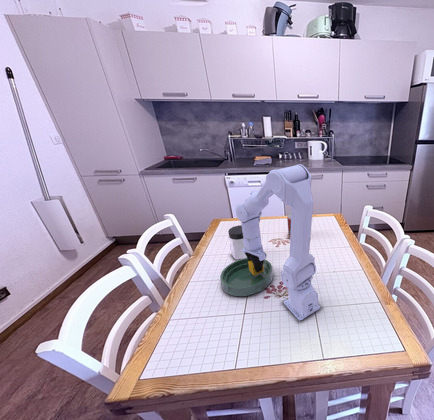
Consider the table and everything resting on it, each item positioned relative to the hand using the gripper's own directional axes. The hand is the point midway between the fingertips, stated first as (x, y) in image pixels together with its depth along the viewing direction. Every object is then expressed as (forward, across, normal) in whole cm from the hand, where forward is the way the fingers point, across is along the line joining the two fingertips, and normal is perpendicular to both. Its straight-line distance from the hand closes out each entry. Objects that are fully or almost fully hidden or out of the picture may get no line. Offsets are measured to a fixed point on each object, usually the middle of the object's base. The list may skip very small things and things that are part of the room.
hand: (256, 268), depth 87 cm
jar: (+4, -18, +2) cm, 19 cm away
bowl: (+4, 0, -4) cm, 5 cm away
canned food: (+3, -17, +29) cm, 33 cm away
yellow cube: (+1, 0, 0) cm, 1 cm away
